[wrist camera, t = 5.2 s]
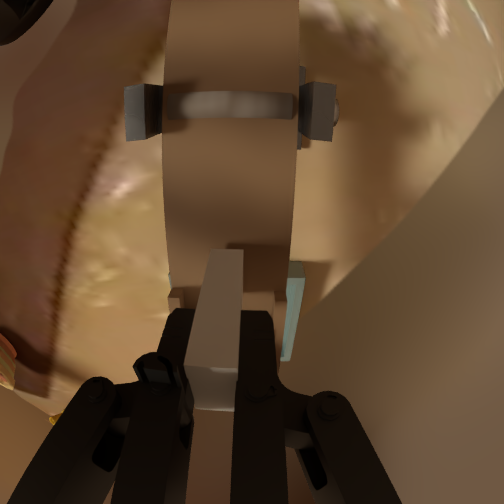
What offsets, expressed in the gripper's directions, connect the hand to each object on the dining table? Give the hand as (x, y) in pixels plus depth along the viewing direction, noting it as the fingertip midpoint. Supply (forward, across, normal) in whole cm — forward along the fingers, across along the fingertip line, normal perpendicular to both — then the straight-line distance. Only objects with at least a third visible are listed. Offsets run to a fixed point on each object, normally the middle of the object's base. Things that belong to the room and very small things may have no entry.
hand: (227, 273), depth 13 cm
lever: (+5, 0, +4) cm, 6 cm away
